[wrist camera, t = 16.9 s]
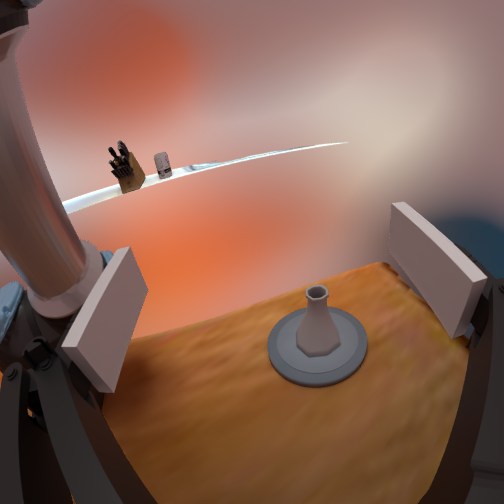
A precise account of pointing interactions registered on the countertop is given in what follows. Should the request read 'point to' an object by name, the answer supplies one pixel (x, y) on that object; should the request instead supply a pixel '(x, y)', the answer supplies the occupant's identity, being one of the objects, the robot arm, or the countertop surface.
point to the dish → (324, 366)
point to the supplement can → (163, 165)
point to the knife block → (126, 169)
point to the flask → (317, 325)
